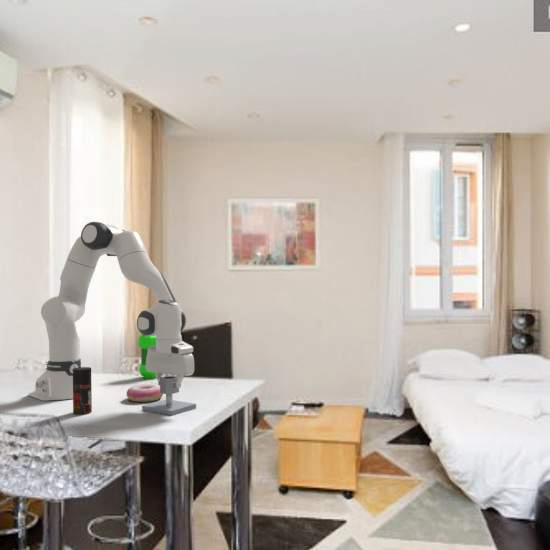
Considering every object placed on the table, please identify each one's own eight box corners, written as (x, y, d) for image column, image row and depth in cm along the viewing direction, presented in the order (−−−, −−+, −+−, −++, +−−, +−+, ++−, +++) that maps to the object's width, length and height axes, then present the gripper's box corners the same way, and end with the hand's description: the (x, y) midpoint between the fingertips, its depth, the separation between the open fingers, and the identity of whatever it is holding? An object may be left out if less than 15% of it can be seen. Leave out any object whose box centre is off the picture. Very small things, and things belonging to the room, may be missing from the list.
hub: (156, 392, 189) (156, 378, 189) (169, 389, 195) (169, 375, 195) (169, 394, 186) (169, 379, 186) (182, 391, 191) (182, 376, 191)
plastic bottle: (159, 379, 246) (158, 323, 247) (135, 379, 247) (135, 324, 247) (163, 375, 256) (163, 322, 257) (141, 375, 257) (140, 322, 257)
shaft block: (142, 410, 189) (141, 391, 189) (167, 403, 199) (166, 385, 199) (171, 415, 181) (171, 395, 181) (196, 408, 191) (195, 389, 191)
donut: (144, 405, 197) (144, 391, 197) (118, 401, 204) (118, 387, 204) (170, 398, 208) (170, 385, 208) (145, 394, 215) (144, 381, 215)
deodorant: (75, 410, 189) (75, 367, 189) (93, 410, 190) (93, 366, 190) (71, 415, 183) (70, 370, 183) (89, 414, 184) (88, 369, 184)
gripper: (141, 346, 193) (141, 385, 193) (184, 349, 182) (184, 391, 182) (154, 344, 199) (154, 382, 199) (196, 347, 187) (197, 387, 187)
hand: (169, 386), depth 190 cm, fingers closed on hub, 6 cm apart
